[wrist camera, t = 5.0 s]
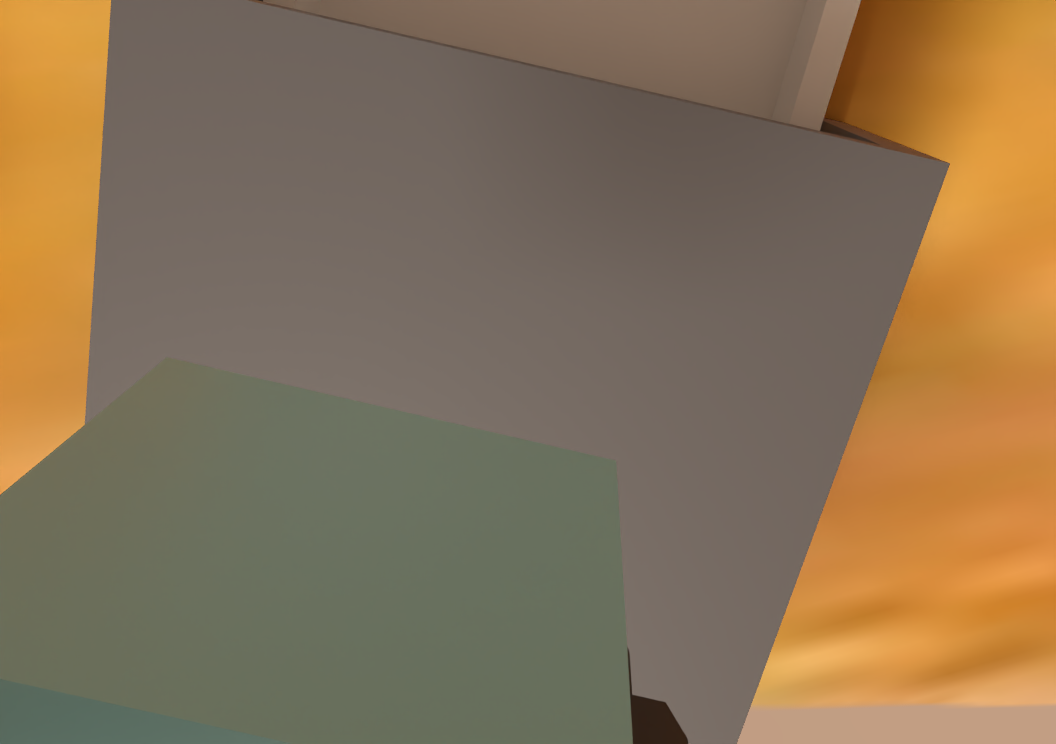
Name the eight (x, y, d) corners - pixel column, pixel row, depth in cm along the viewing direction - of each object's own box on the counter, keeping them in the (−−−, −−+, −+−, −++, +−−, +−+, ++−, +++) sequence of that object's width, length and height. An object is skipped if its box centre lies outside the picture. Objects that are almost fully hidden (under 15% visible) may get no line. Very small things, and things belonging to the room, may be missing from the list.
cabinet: (254, -15, 29) (113, -31, 20) (845, 122, 29) (950, 163, 20) (202, 462, 34) (73, 607, 26) (698, 574, 34) (733, 753, 26)
